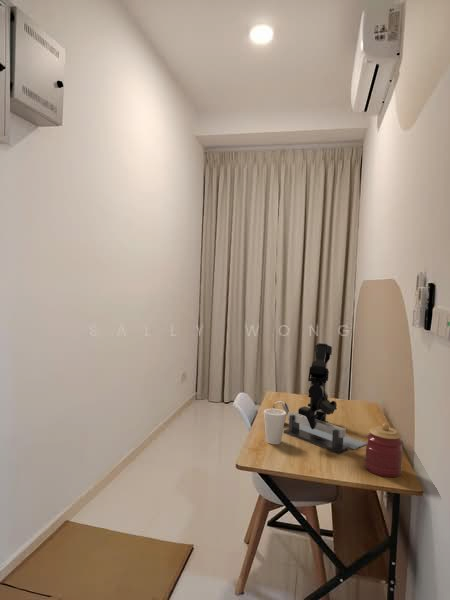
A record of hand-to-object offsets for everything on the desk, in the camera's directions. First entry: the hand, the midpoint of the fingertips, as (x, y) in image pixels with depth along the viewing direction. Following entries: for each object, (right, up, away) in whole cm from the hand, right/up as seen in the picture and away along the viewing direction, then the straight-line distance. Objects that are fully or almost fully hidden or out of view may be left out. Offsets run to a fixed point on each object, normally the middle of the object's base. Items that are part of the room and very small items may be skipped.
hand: (315, 428), depth 178 cm
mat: (+8, -6, +7) cm, 12 cm away
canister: (+20, -8, -26) cm, 34 cm away
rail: (0, 0, 0) cm, 0 cm away
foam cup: (-19, -5, -3) cm, 20 cm away
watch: (-13, -5, +21) cm, 25 cm away
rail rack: (0, -6, 0) cm, 6 cm away
